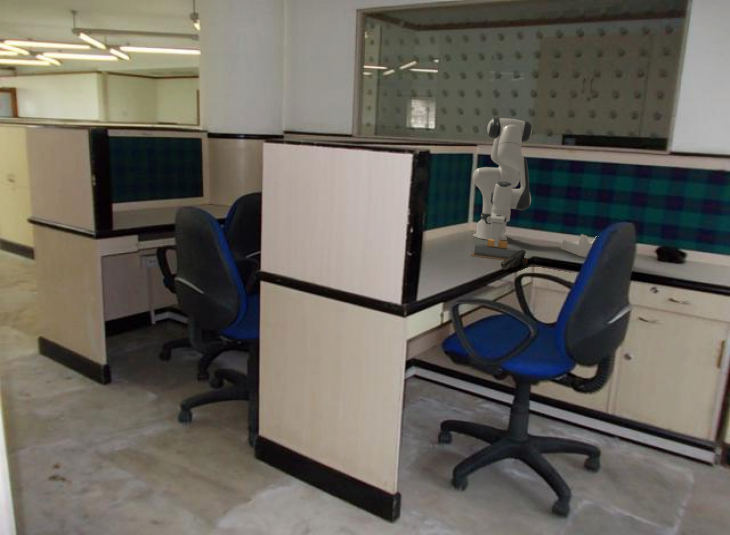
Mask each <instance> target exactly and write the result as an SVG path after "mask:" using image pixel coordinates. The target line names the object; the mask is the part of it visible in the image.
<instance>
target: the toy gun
mask: <svg viewBox="0 0 730 535" xmlns="http://www.w3.org/2000/svg"><path fill="white" fill-rule="evenodd" d="M526 253H527V252H526V250H525V249H521V248H519V251H517V252H516V253H515V254H513V255H512V256H510V257H509V258H507V259H506V260H502V262H501V263H500V266H501V269H502V270H503V271H508V270H510V268H513V267H518V266H520V267H521V268H526V267H527V265H528V262H529V260H528V258H527V257H525V256H526Z"/></svg>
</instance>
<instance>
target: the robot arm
mask: <svg viewBox="0 0 730 535" xmlns="http://www.w3.org/2000/svg"><path fill="white" fill-rule="evenodd" d="M532 127H533V126H532V123H531V122H530V121H527V120H520V119H516V118H509V117H508V118H505V117H493V118H491V119H490V120H489V122H488V124H487V128H486V129H487V135H488V136H489V138H490V139H493V143H492V147H491V151H490V152H491V153H490V158H491V161H493V163H494V164H496V165H498V167H491V166H490V167H488V166H484V167H479V168H478V167H477V168H476V169H475V170H474V172H473V174H472V182H473V184H474V185H475V187H477V188H478V189H479V191H480V193H481V195H482V212H481V214H480V220H478V222H477V225H476V233H474V234H472V236H473V237H474V238H478V239H483V240H487V241H488V239H493V240H494V241H495V245H494V246H496V247H498V246H499V240H502V241H508V237H507V234H506V230H507V222H510V220H511V209H512V210H518V211H525V210H526V209H528V208H529V207H531V203H532V196H531V192H530V177H529V169H528V160H527V158H526V157H525V156H524V155H523V154H522V145H523V143H525V142H527V141H529V140H530V138H531V136H532V133H533V128H532ZM519 183H520V184H519ZM518 185H520V188H516V187H517V186H518Z"/></svg>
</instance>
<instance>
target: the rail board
mask: <svg viewBox="0 0 730 535" xmlns="http://www.w3.org/2000/svg"><path fill="white" fill-rule="evenodd" d="M519 250H520V248H518V247H517V248H516V247H509V246H507V248H506V249H503V248H499V247H488V246H487V244H482V243H477V244H474V251H473V252H472V253H471V254H470V257H471V256H472V257H477V258H478V257H479V258H484V259H491V260H492V259H494V260H498V261H499V260H501V261H505V260H506V259H507V258H509V257H510V256H512V255H513V254H515V253H516V252H517V251H519Z"/></svg>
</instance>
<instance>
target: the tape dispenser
mask: <svg viewBox="0 0 730 535" xmlns="http://www.w3.org/2000/svg"><path fill="white" fill-rule="evenodd" d="M596 237H597V236H595V238H596ZM595 238H594V239H593V240H592V241H588V235H586V234H582V233H581V234H580V236H579V241H575V240H568V239H562V243H561V248H560V249H561V250H563V251H566V252H569V253H571V254H574V255H576V256H578V257H584V258H587V257H586V254H587V253H588V251H589V249H590V247H591V245H592V243H593V241H594V240H595Z"/></svg>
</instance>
